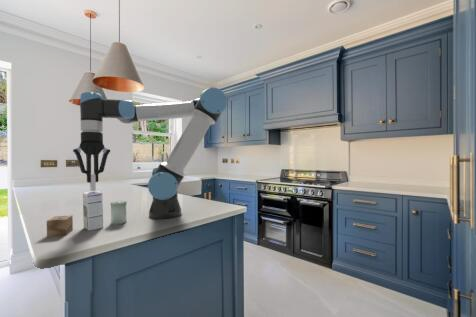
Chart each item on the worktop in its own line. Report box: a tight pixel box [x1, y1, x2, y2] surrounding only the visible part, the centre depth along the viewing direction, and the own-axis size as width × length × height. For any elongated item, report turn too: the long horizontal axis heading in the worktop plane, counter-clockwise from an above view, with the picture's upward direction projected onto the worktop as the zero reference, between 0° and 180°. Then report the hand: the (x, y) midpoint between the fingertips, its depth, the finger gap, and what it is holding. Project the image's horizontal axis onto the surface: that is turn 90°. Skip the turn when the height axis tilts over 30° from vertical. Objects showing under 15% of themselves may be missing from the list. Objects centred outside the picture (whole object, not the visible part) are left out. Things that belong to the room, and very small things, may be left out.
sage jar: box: [109, 200, 128, 225], centre depth 101 cm, size 6×6×9 cm
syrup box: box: [82, 190, 104, 231], centre depth 94 cm, size 6×6×14 cm
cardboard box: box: [46, 215, 74, 238], centre depth 87 cm, size 6×6×6 cm
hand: (92, 190), depth 94 cm, fingers closed
